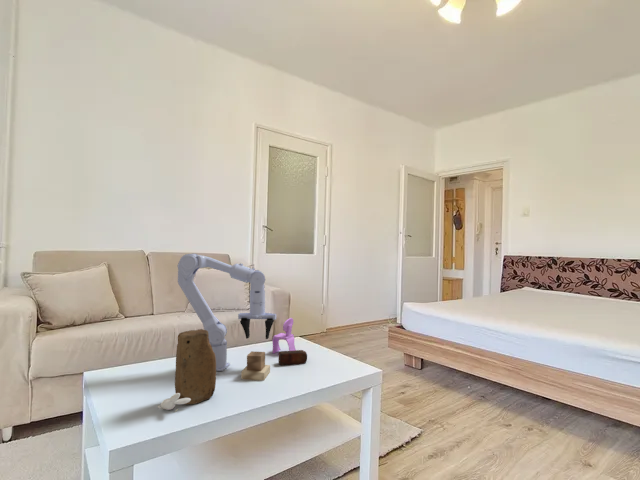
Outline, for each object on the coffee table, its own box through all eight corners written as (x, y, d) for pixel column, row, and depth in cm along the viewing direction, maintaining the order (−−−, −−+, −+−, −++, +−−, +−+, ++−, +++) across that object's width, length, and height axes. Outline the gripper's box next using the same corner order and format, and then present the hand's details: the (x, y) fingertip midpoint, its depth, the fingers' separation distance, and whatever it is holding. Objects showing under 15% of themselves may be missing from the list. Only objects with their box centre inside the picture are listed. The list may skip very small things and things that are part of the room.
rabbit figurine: (167, 405, 99) (192, 393, 98) (167, 419, 96) (193, 407, 96) (152, 401, 94) (179, 388, 94) (153, 416, 91) (180, 403, 91)
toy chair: (280, 348, 155) (280, 315, 155) (297, 351, 151) (298, 316, 152) (270, 354, 147) (270, 318, 148) (288, 356, 144) (289, 320, 144)
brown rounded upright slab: (178, 408, 96) (180, 336, 97) (173, 398, 103) (174, 330, 103) (217, 399, 102) (218, 331, 103) (210, 390, 109) (211, 326, 109)
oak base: (241, 380, 119) (241, 371, 119) (248, 372, 126) (248, 363, 127) (264, 381, 118) (264, 372, 118) (270, 373, 126) (270, 365, 126)
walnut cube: (246, 370, 120) (246, 355, 120) (251, 365, 125) (251, 351, 125) (260, 370, 119) (261, 356, 119) (264, 366, 124) (265, 351, 124)
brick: (280, 366, 132) (280, 354, 132) (278, 363, 136) (278, 351, 136) (307, 364, 136) (307, 351, 136) (304, 360, 139) (304, 349, 139)
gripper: (235, 303, 130) (235, 340, 129) (273, 304, 128) (273, 341, 128) (241, 300, 137) (241, 335, 136) (277, 301, 135) (277, 336, 135)
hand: (257, 338), depth 133 cm, fingers open, 7 cm apart
